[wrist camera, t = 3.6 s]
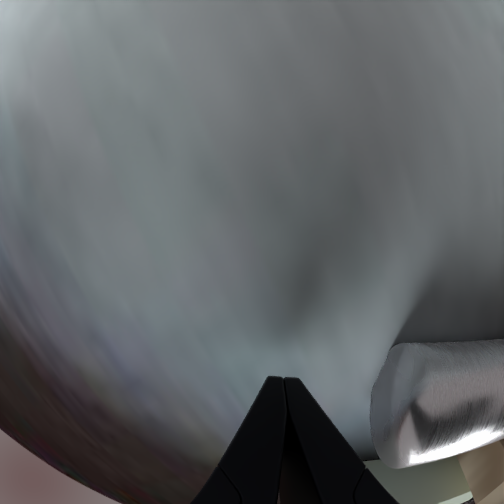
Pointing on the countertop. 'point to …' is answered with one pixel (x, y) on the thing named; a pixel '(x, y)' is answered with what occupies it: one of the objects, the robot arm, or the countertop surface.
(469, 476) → the wooden bridge block
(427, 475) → the v block
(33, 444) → the countertop surface
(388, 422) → the axle
